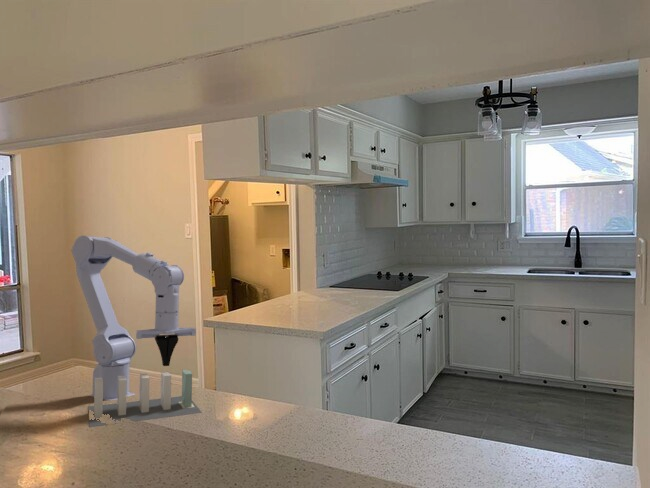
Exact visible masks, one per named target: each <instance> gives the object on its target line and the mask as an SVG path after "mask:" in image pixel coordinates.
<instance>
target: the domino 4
mask: <svg viewBox="0 0 650 488" xmlns="http://www.w3.org/2000/svg"><path fill="white" fill-rule="evenodd" d="M160 374H161V375H160V378H161V379H160V399H161V406H162V408H163V410H168V409H171V397H172V374H170V373H169V371H162V372H161V373H160Z"/></svg>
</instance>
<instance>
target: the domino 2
mask: <svg viewBox="0 0 650 488" xmlns="http://www.w3.org/2000/svg"><path fill="white" fill-rule="evenodd" d="M126 390H127V379H126V377H125V375H124V376H118V391H117V399H116V401H117V402H116V404H117V411H118V415H126V402H127V397H126Z"/></svg>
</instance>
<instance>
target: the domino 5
mask: <svg viewBox="0 0 650 488" xmlns="http://www.w3.org/2000/svg"><path fill="white" fill-rule="evenodd" d="M181 371H182V372H181V376H182V377H181V379H182V380H181V396H182V403H183V405H184V407H192V401H193V400H192V399H193V395H192V394H193V373H192V371H190V369H183V370H181Z"/></svg>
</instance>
